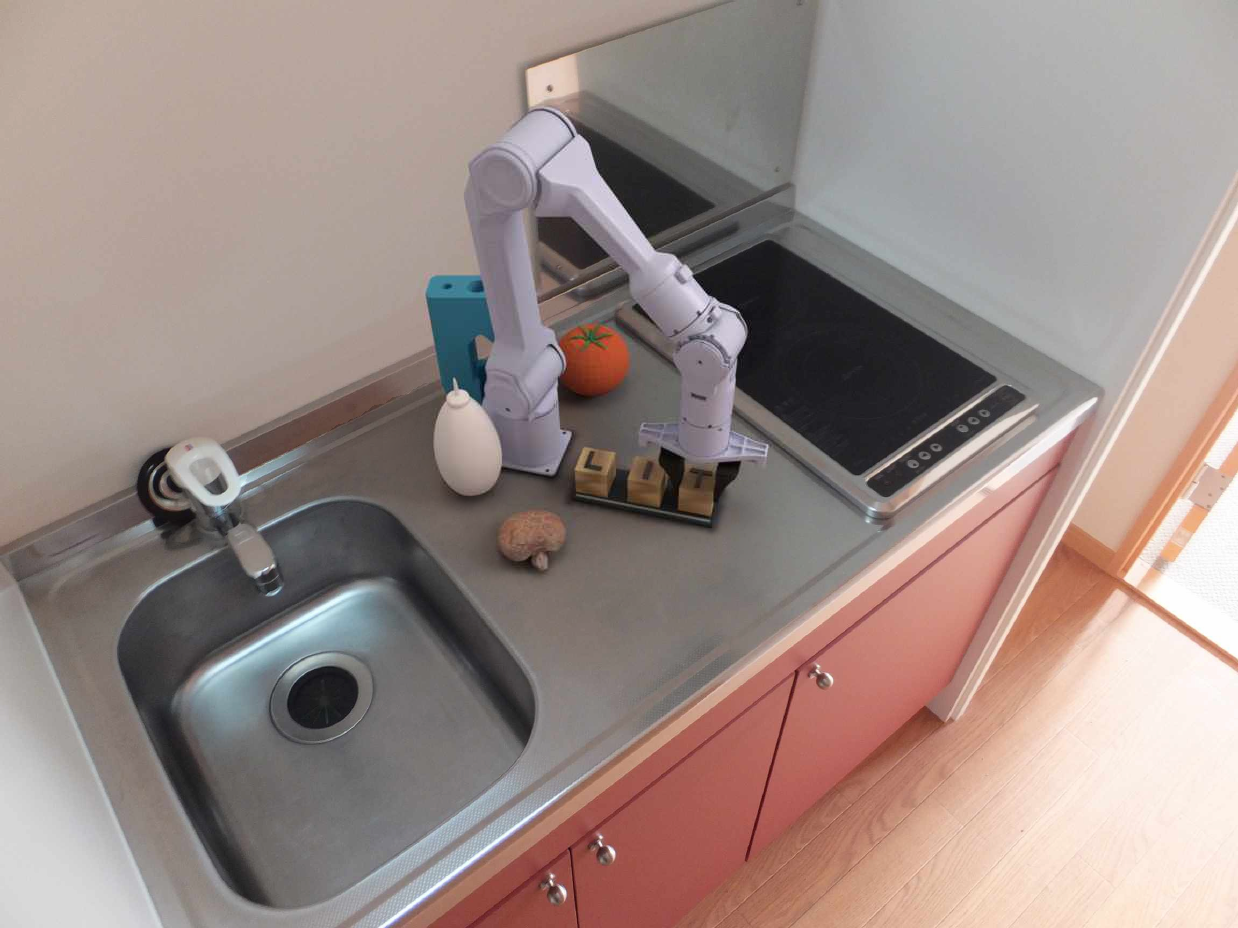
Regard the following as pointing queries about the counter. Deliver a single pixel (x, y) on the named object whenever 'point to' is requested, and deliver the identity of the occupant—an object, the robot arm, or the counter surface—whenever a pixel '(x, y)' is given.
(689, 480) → the tile
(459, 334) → the block
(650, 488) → the tile
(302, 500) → the counter surface
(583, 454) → the tile
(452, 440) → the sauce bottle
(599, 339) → the tomato
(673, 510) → the black tile rack
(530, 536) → the mushroom
